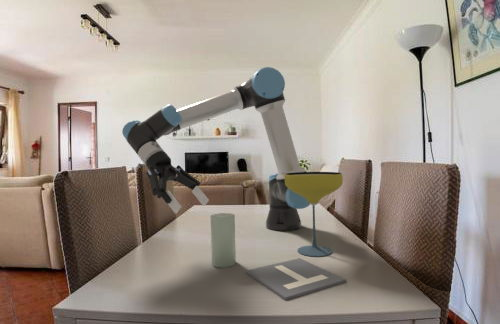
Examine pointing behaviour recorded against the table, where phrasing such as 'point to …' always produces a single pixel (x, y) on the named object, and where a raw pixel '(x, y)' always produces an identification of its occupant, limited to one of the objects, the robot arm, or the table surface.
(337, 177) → the cocktail glass
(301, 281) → the letter board
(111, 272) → the table surface
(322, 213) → the table surface
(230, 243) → the green canister
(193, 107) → the robot arm
